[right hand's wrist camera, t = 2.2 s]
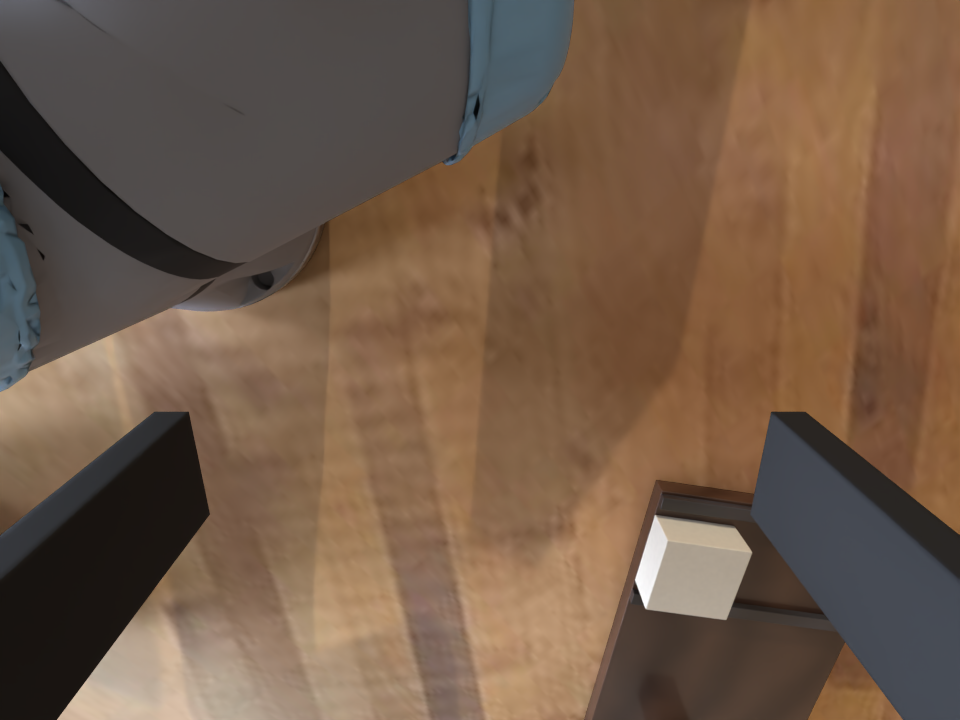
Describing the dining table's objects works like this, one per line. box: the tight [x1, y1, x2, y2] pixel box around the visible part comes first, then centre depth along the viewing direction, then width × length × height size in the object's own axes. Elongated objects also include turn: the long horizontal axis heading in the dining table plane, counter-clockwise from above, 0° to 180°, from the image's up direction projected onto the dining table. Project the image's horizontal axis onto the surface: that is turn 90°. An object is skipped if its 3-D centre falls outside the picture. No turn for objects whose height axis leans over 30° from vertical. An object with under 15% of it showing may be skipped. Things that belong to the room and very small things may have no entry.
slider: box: [635, 515, 752, 620], centre depth 40 cm, size 6×6×3 cm
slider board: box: [584, 480, 845, 720], centre depth 42 cm, size 18×32×10 cm, turn 171°
